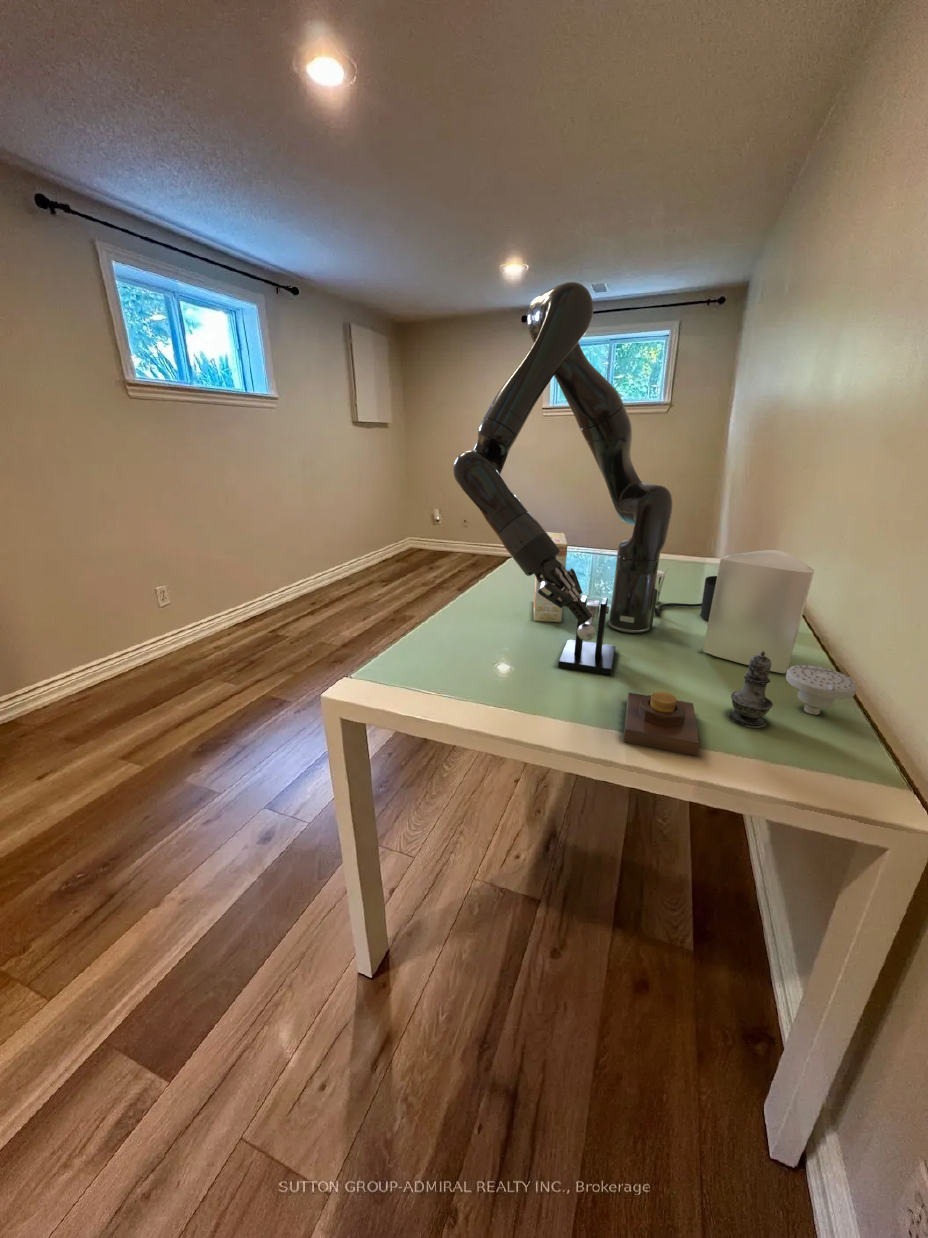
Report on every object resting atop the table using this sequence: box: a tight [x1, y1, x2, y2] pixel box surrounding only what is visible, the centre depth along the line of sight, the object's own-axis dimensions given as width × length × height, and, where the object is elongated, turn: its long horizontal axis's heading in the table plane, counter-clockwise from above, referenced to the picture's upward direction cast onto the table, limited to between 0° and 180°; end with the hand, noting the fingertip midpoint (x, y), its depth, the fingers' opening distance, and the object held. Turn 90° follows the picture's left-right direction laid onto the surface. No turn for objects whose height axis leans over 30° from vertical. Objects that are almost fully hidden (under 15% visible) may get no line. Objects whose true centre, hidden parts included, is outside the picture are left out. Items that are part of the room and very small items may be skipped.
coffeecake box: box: [533, 531, 568, 623], centre depth 124 cm, size 15×7×20 cm, turn 172°
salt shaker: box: [728, 651, 774, 729], centre depth 77 cm, size 6×6×12 cm
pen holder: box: [700, 575, 717, 622], centre depth 122 cm, size 9×9×10 cm
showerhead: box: [785, 664, 858, 716], centre depth 80 cm, size 9×7×10 cm
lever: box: [576, 599, 601, 642], centre depth 92 cm, size 13×3×3 cm, turn 160°
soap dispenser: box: [702, 549, 815, 675], centre depth 99 cm, size 15×14×22 cm
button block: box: [622, 692, 700, 757], centre depth 76 cm, size 12×10×4 cm
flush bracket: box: [557, 594, 616, 676], centre depth 98 cm, size 12×10×13 cm
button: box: [650, 691, 677, 713], centre depth 75 cm, size 4×4×2 cm
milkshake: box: [655, 567, 670, 605], centre depth 134 cm, size 4×5×10 cm
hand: (587, 620), depth 87 cm, fingers closed
